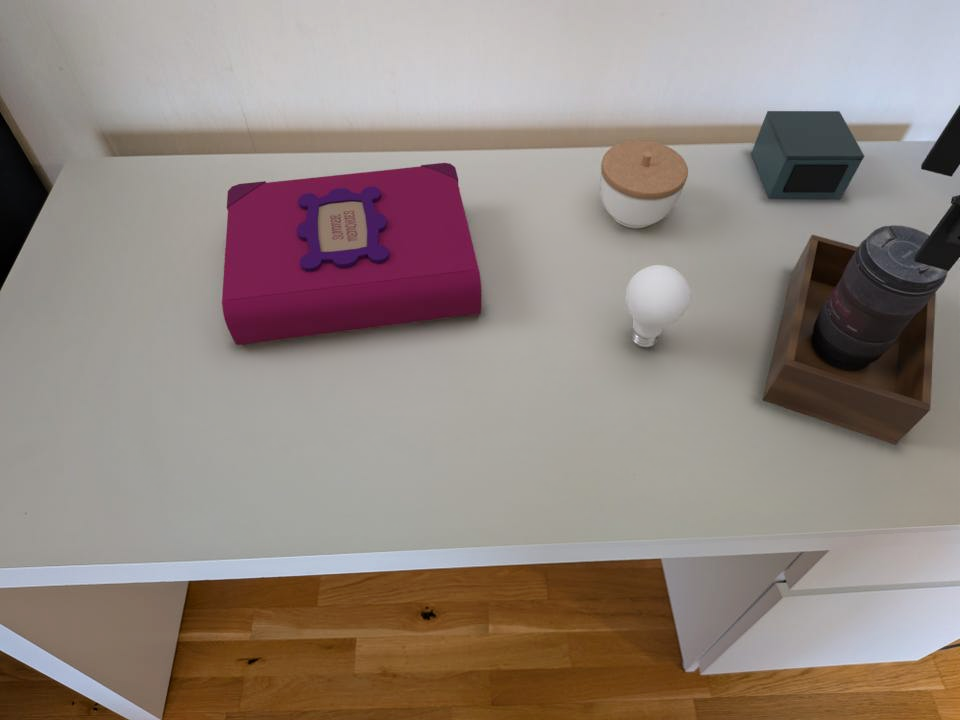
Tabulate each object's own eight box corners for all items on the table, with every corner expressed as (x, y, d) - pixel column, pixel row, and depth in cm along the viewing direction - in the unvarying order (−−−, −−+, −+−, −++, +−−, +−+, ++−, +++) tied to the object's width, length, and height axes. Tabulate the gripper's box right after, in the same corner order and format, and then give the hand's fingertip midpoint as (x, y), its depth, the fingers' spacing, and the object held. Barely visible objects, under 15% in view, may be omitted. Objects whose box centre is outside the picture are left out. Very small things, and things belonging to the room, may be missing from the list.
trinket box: (577, 205, 92) (586, 146, 84) (637, 177, 95) (650, 118, 88) (629, 252, 87) (644, 193, 79) (690, 221, 90) (710, 162, 83)
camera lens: (789, 345, 77) (847, 248, 65) (828, 309, 80) (890, 211, 68) (854, 389, 73) (928, 296, 61) (892, 350, 77) (969, 254, 65)
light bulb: (602, 341, 78) (618, 274, 69) (637, 310, 81) (657, 242, 72) (648, 375, 75) (671, 309, 66) (683, 342, 78) (710, 274, 69)
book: (482, 321, 80) (483, 276, 73) (238, 353, 76) (217, 309, 70) (455, 204, 92) (453, 157, 86) (243, 227, 89) (226, 180, 83)
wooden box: (791, 273, 84) (812, 234, 79) (907, 307, 81) (937, 268, 76) (762, 400, 73) (784, 363, 68) (896, 444, 70) (930, 410, 65)
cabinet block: (819, 153, 99) (839, 110, 93) (841, 199, 93) (865, 156, 87) (750, 153, 99) (767, 110, 93) (769, 199, 93) (787, 156, 87)
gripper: (1038, -115, 52) (898, 128, 69) (1063, 37, 38) (879, 295, 55) (1151, -98, 50) (978, 147, 67) (1220, 68, 36) (980, 324, 53)
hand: (933, 214), depth 61 cm, fingers open, 13 cm apart
